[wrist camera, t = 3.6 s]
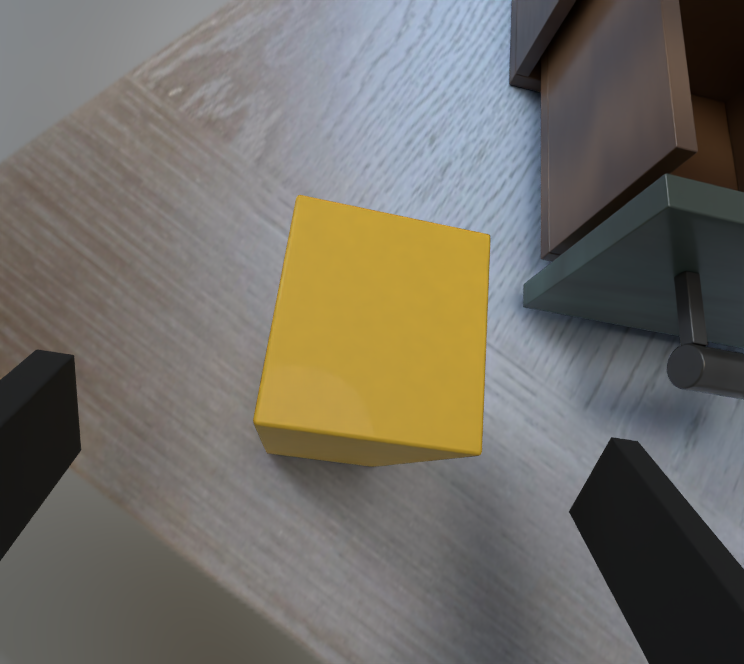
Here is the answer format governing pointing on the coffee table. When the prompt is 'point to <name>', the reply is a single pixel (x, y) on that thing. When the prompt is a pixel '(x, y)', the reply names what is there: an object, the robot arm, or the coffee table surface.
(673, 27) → the drawer
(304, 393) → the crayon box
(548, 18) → the cabinet
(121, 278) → the coffee table surface
